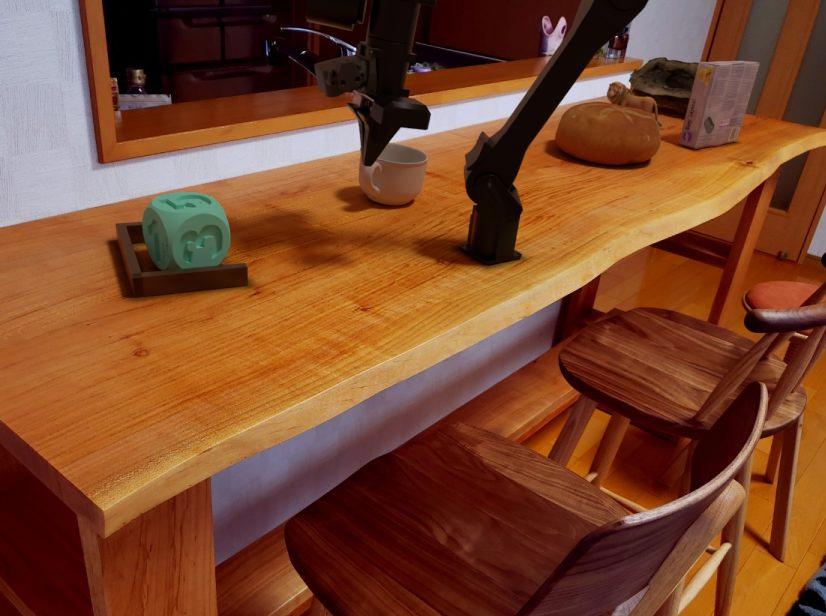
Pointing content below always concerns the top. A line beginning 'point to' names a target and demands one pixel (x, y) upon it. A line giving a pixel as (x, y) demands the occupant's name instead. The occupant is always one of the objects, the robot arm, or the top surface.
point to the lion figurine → (630, 99)
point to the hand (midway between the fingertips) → (366, 165)
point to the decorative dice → (185, 231)
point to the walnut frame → (173, 278)
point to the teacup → (394, 175)
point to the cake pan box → (718, 103)
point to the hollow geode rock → (665, 82)
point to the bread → (608, 133)
